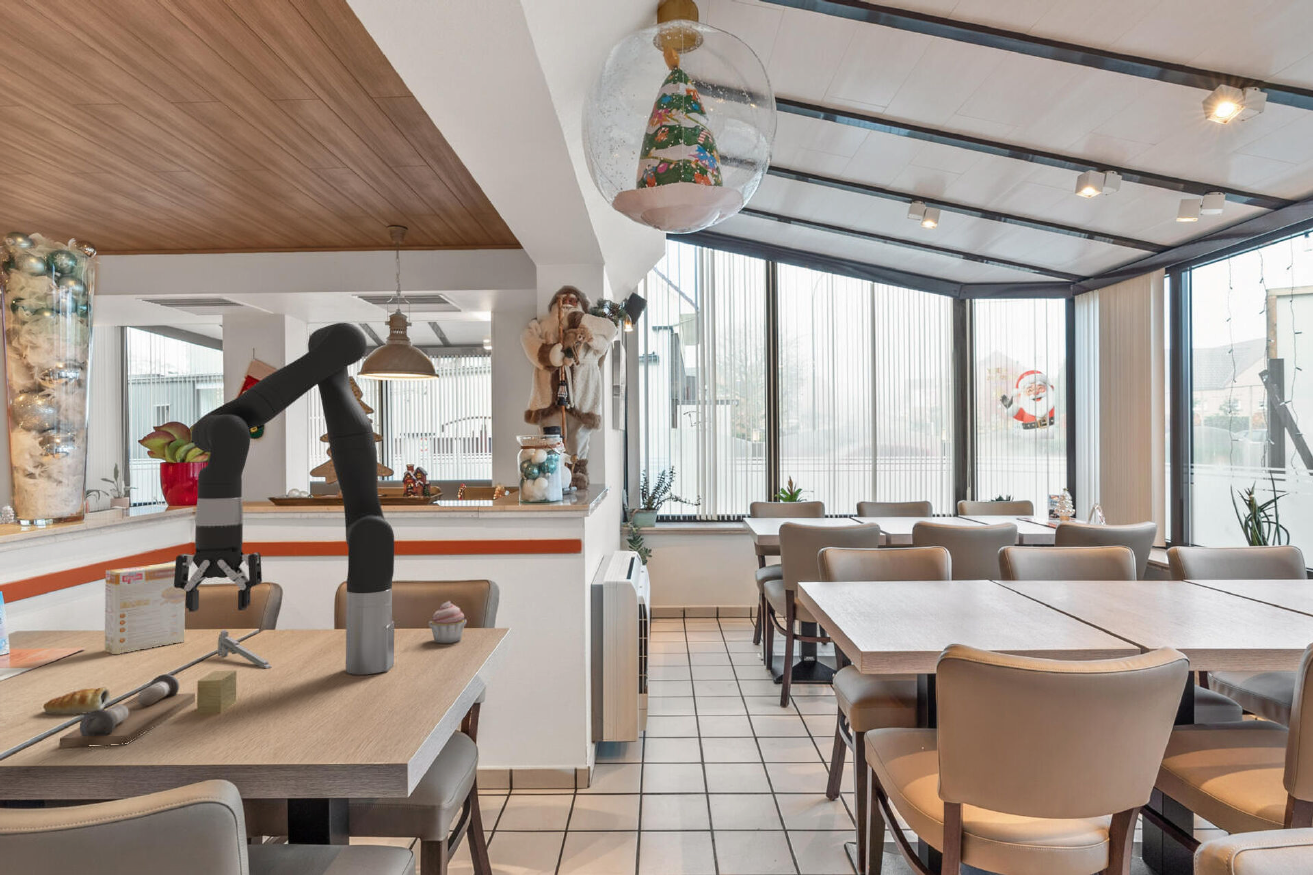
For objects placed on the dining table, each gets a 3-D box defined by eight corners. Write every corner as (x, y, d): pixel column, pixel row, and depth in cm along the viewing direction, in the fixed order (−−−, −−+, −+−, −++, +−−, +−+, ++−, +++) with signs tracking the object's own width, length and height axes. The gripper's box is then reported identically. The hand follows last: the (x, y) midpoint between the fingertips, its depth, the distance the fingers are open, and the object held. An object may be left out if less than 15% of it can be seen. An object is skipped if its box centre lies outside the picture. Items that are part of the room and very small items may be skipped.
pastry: (36, 719, 128) (36, 698, 128) (53, 708, 134) (53, 687, 134) (99, 713, 131) (100, 691, 131) (113, 701, 138) (114, 681, 138)
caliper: (217, 656, 169) (217, 629, 169) (222, 655, 170) (222, 628, 170) (267, 669, 158) (267, 641, 158) (271, 668, 159) (272, 640, 159)
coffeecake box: (173, 638, 185) (174, 561, 186) (185, 642, 181) (186, 564, 182) (103, 651, 173) (104, 569, 174) (114, 655, 169) (115, 571, 170)
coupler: (236, 702, 136) (236, 670, 137) (220, 713, 130) (221, 680, 131) (213, 703, 136) (213, 671, 136) (197, 714, 130) (197, 680, 130)
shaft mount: (194, 701, 137) (195, 672, 137) (127, 744, 116) (127, 710, 116) (138, 703, 136) (138, 674, 136) (59, 747, 115) (60, 713, 115)
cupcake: (461, 645, 177) (461, 604, 177) (423, 645, 177) (423, 604, 177) (471, 636, 186) (471, 597, 187) (435, 636, 186) (435, 597, 187)
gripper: (268, 520, 139) (267, 605, 138) (189, 521, 137) (187, 607, 137) (251, 523, 131) (249, 613, 131) (167, 524, 130) (165, 615, 129)
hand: (218, 610), depth 134 cm, fingers open, 8 cm apart
